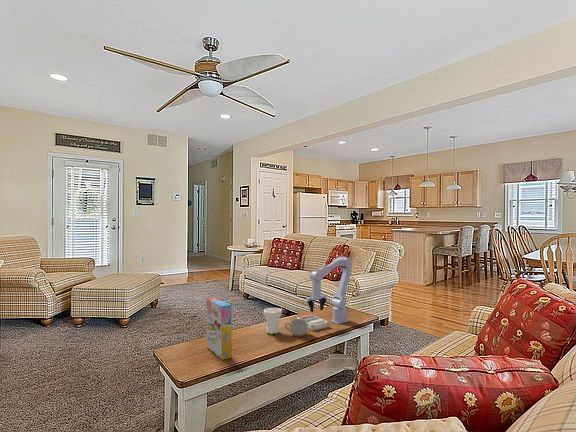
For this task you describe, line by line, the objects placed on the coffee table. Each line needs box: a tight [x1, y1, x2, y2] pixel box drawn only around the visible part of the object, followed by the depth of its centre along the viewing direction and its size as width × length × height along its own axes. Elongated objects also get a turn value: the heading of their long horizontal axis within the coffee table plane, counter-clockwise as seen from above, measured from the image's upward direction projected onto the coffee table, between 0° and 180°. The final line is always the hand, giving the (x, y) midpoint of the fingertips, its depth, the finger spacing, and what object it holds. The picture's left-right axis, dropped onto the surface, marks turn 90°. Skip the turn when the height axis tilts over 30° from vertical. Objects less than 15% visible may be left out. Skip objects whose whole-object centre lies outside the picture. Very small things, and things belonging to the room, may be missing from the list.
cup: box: [263, 307, 283, 336], centre depth 205 cm, size 11×11×14 cm
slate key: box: [304, 315, 320, 322], centre depth 219 cm, size 10×4×2 cm, turn 120°
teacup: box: [284, 318, 309, 338], centre depth 201 cm, size 14×11×8 cm
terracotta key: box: [298, 313, 315, 319], centre depth 224 cm, size 10×4×2 cm, turn 120°
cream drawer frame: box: [295, 315, 330, 332], centre depth 219 cm, size 13×20×4 cm, turn 30°
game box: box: [205, 297, 233, 361], centre depth 176 cm, size 21×6×27 cm, turn 35°
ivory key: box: [309, 318, 326, 325], centre depth 214 cm, size 10×4×2 cm, turn 120°
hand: (316, 310), depth 215 cm, fingers open, 7 cm apart
